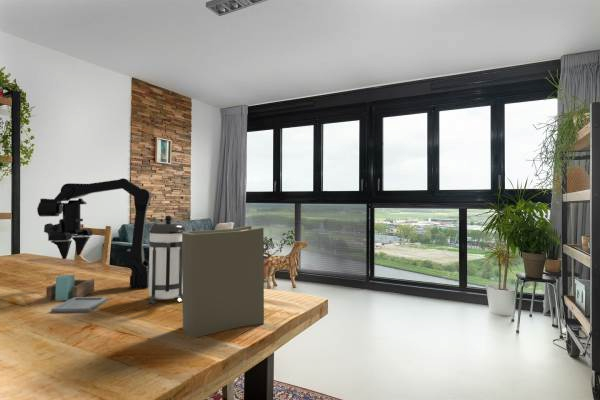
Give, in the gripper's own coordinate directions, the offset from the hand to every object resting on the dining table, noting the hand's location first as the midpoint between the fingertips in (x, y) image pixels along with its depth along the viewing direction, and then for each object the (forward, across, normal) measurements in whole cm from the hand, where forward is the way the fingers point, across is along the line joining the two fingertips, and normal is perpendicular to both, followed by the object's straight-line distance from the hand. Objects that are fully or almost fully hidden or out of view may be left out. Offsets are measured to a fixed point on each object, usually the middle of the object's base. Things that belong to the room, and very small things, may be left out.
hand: (71, 256), depth 132 cm
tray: (+13, +20, +14) cm, 28 cm away
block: (+13, +11, +4) cm, 18 cm away
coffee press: (+14, +13, +40) cm, 45 cm away
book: (+14, +39, +63) cm, 75 cm away
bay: (+13, +7, +4) cm, 15 cm away
